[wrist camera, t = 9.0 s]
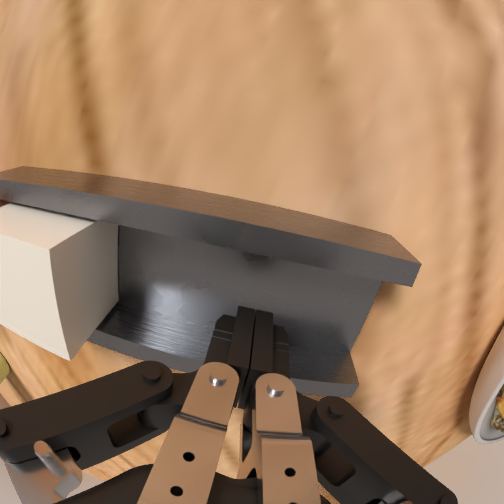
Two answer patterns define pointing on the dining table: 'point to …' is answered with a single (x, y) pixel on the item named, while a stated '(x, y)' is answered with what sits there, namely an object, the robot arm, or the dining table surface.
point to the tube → (3, 368)
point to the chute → (225, 270)
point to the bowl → (489, 397)
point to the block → (56, 276)
